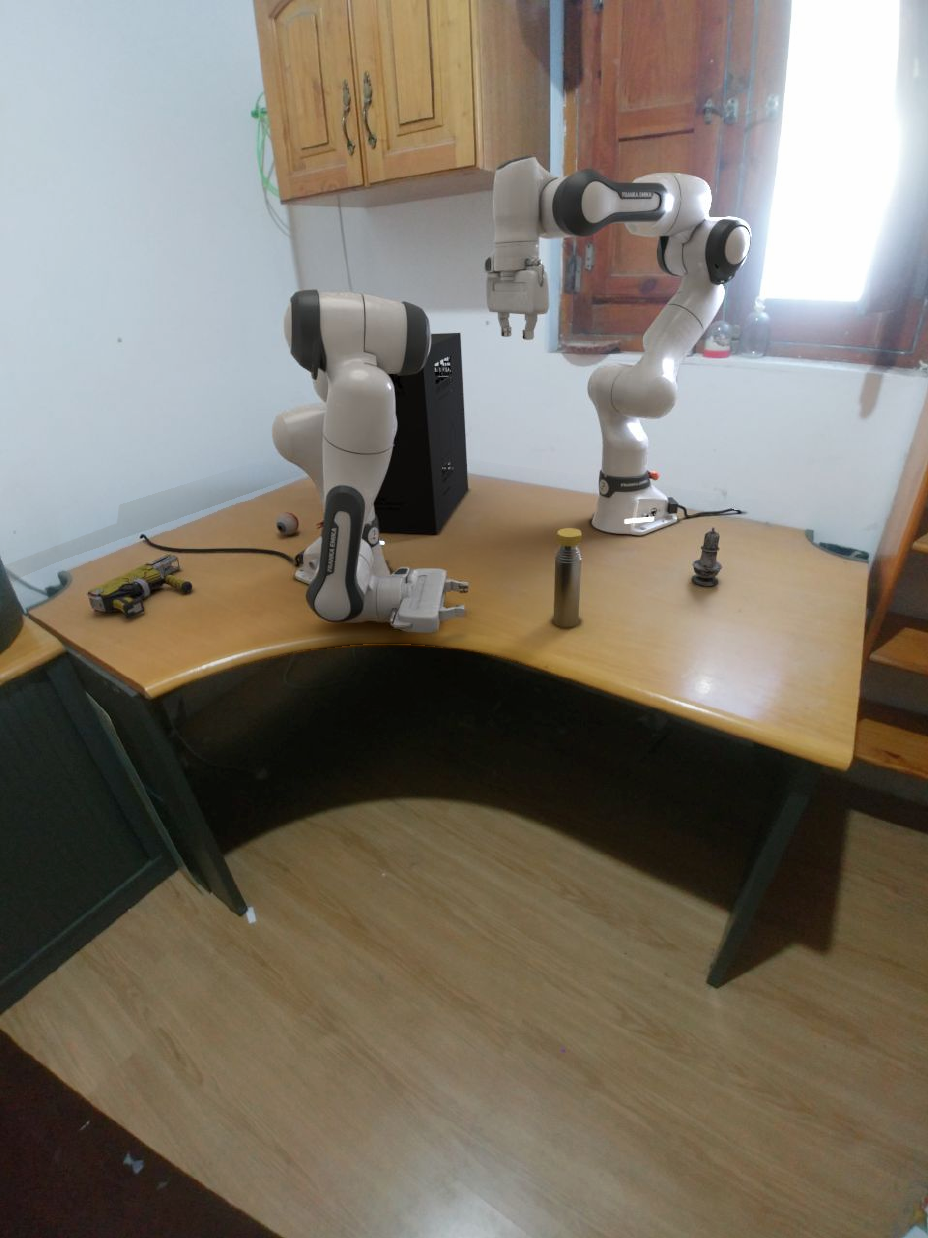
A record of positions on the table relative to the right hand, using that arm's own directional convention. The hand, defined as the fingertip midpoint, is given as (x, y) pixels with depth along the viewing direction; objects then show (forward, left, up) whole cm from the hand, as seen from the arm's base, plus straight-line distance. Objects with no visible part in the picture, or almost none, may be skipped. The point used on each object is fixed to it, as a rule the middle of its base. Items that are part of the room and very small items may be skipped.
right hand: (516, 337), depth 125 cm
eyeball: (+48, -41, -48) cm, 80 cm away
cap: (+9, +35, -29) cm, 47 cm away
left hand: (+26, +26, -42) cm, 56 cm away
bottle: (+9, +35, -48) cm, 60 cm away
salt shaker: (-26, +35, -48) cm, 65 cm away
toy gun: (+82, -21, -48) cm, 97 cm away
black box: (+10, -41, -48) cm, 63 cm away
